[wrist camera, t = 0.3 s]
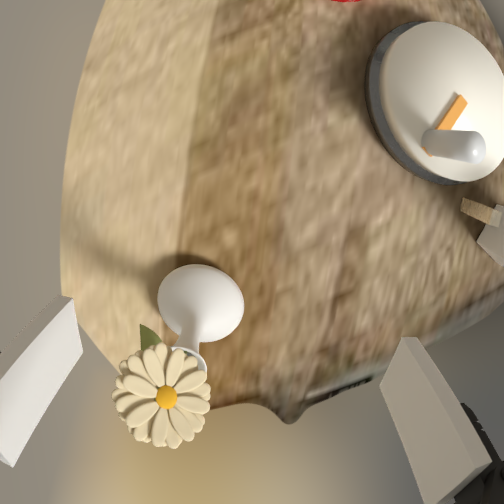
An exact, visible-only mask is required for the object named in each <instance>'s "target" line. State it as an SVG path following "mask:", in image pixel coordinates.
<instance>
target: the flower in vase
mask: <svg viewBox="0 0 504 504" xmlns="http://www.w3.org/2000/svg"><path fill="white" fill-rule="evenodd" d="M157 298H158V307H159V311H160V314H161V316H162V318H163V320H164V322H165V323H166V324H167V326H168V327H169V328H170V329H171V330H173V331H174V332H175V333H176V334H178V335H180V336H179V338H178V340H177V342H176V343H175V344H174V346H171V347H170V346H166V345H165V344H164V343H163V342H162V340H161V339H160V338H159V336H158V335H157V334H156V333H155V332H153V331H152V330H151V329H149V328H148V327H146V326H144V325H142V324H140V336H141V350H139V351H137V352H136V353H135V355H130V356H129V358H128V360H123V361H122V362H121V363H120V366H119V368H120V371H121V373H122V374H123V375H119V376H117V377H116V379H115V385H116V386H117V388H118V389H115V390H114V391H113V392H112V394H111V398H112V400H113V401H114V402H115V406H116V409H117V410H118V411H119V417H120V419H121V420H123V421H126V424H127V428H128V431H129V432H130V433H131V434H133V436H134V438H135V440H137V441H143V442H145V443H147V442H149V441H151V440H152V443H153V444H154V445H155V446H157V447H160V446H167V445H168V446H169V447H170V448H172V449H175V448H177V447H178V446H179V444H180V443H181V442H182V439H184V440H186V441H191V440H192V439H193V438H194V432H200V431H201V430H202V427H203V425H204V423H205V418H204V417H203V416H202V415H203V414H205V413H206V412H208V411H209V409H210V405H209V403H208V402H207V401H208V400H209V399H210V390H211V389H210V386H209V384H207V383H205V381H206V379H207V374H206V372H207V367H206V363H205V361H204V360H203V358H202V357H201V356H200V355H199V342H211V341H216V340H219V339H222V338H224V337H225V336H227V335H229V334H230V333H231V332H232V331H233V330H234V329H235V328H236V327H237V326H238V324H239V323H240V321H241V319H242V316H243V312H244V300H243V296H242V293H241V291H240V289H239V287H238V286H237V284H236V283H235V282H234V281H233V279H231V278H230V277H229V276H228V275H227V274H225V273H224V272H222V271H220V270H219V269H216V268H214V267H211V266H207V265H201V264H191V265H185V266H182V267H179V268H177V269H175V270H173V271H172V272H170V273H169V274H168V275H167V276H166V277H165V278H164V280H163V281H162V283H161V285H160V287H159V290H158V296H157Z"/></svg>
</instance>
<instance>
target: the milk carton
mask: <svg viewBox="0 0 504 504" xmlns="http://www.w3.org/2000/svg"><path fill="white" fill-rule="evenodd" d="M494 209H495V210H498V211H500V212H502V215H501V219H500V224H499V227H495V226H491V225H488V224H486V225H485V227H484V229H483V231H482V233H481V234H480V236H479V238H478V240H477V241H476V242H477V243H478V244H479V245H480V246H481V247H482V248H483V249H484V250H485V251H486V252H487V253H488V254H489V255H490V256H491V257H492V258H493V259H494V261H496V262H497V263H498V264H500V265H501V266H503V267H504V206H501V205H499V204H497V205H496V206H495V208H494Z"/></svg>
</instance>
